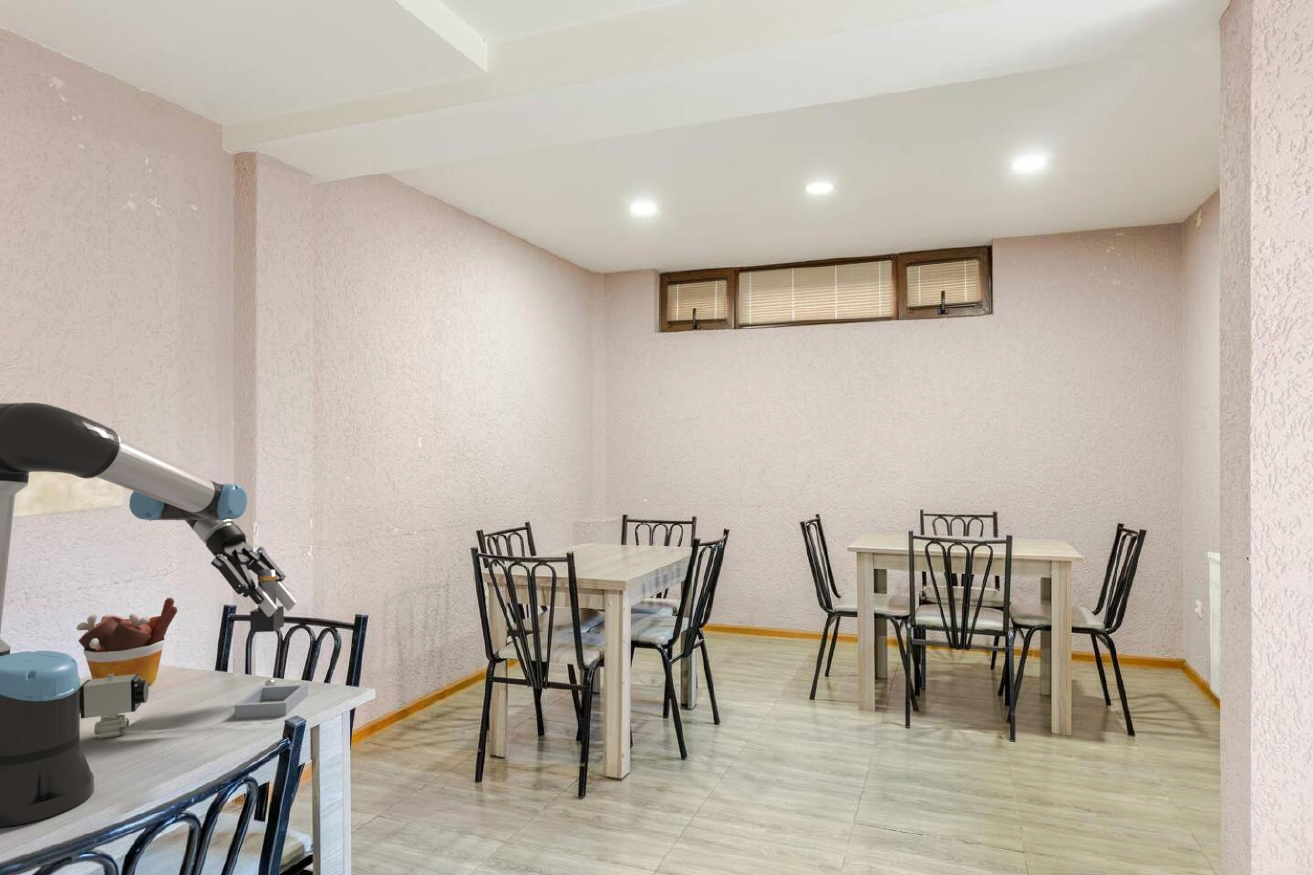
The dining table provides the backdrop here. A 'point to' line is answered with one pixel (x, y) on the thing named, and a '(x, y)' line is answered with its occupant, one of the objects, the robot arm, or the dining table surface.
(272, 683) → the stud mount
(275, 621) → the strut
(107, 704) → the pneumatic valve
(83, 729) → the dining table surface
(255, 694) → the bin
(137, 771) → the dining table surface
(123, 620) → the bucket of meat
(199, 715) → the dining table surface
